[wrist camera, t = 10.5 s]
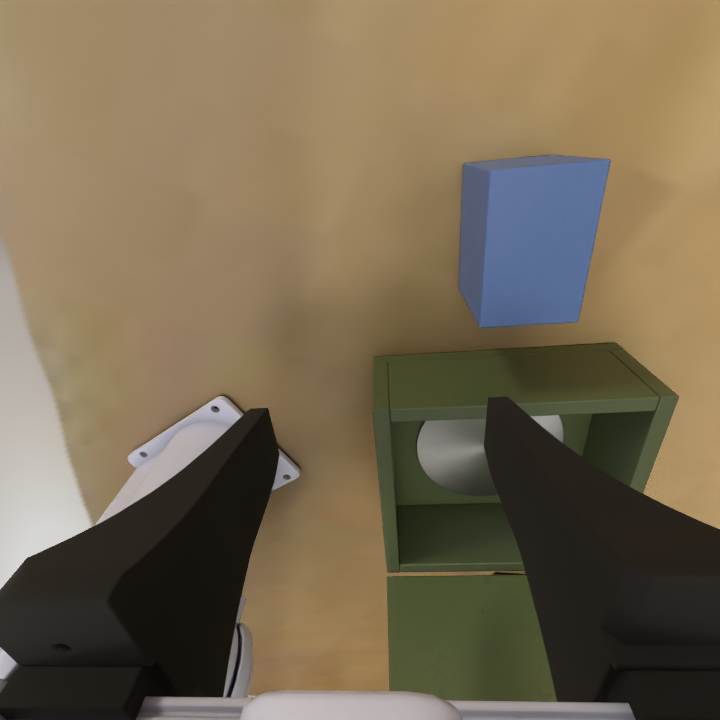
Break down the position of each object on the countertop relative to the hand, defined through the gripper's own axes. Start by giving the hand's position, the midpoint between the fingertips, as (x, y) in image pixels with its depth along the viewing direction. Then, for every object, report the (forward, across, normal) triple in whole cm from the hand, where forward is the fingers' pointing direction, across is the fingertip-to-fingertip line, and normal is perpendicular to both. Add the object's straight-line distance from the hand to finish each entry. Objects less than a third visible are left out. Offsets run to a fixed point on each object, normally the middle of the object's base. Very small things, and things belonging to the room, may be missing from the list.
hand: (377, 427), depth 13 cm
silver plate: (+10, -6, +9) cm, 15 cm away
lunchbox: (+10, -6, +9) cm, 15 cm away
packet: (+10, -6, -4) cm, 12 cm away
